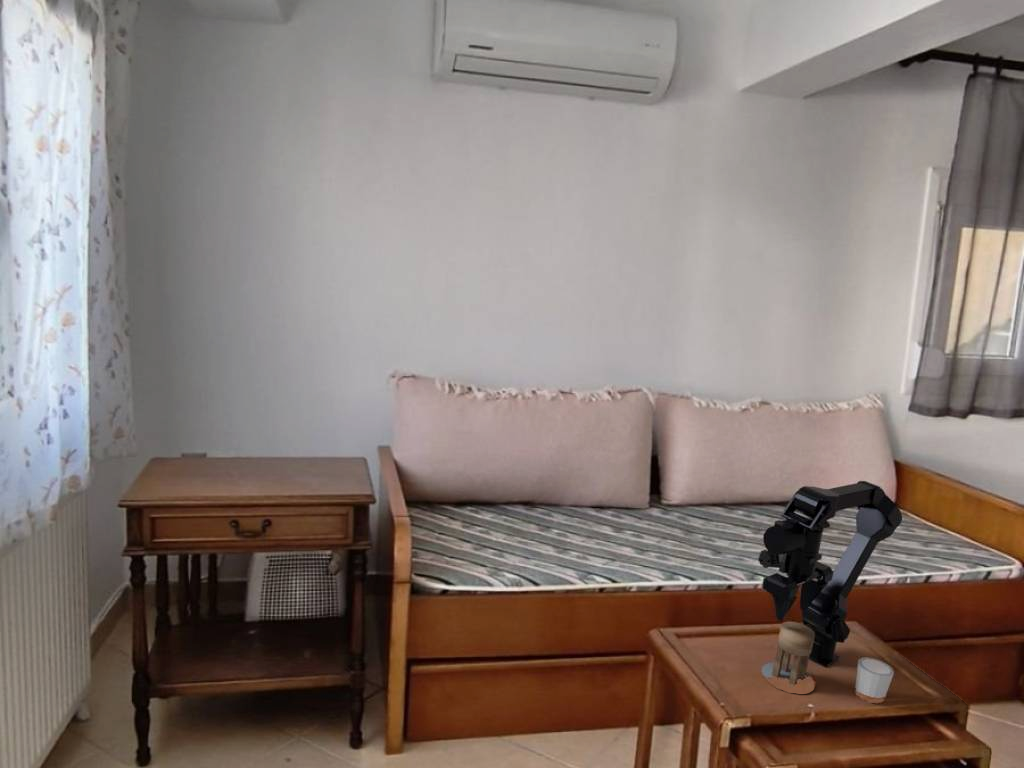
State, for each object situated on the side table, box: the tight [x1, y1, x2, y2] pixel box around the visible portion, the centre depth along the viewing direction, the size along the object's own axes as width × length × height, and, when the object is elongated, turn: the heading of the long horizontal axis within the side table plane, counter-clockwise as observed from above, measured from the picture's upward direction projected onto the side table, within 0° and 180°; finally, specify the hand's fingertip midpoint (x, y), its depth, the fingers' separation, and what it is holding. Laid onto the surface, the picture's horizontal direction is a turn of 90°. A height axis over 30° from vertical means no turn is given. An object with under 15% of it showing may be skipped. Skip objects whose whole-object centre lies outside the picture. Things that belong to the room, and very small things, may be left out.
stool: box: [772, 621, 815, 685], centre depth 166 cm, size 7×7×11 cm
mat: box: [760, 661, 811, 680], centre depth 168 cm, size 11×11×1 cm
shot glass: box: [854, 656, 895, 698], centre depth 164 cm, size 7×7×7 cm
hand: (791, 614), depth 168 cm, fingers open, 9 cm apart
